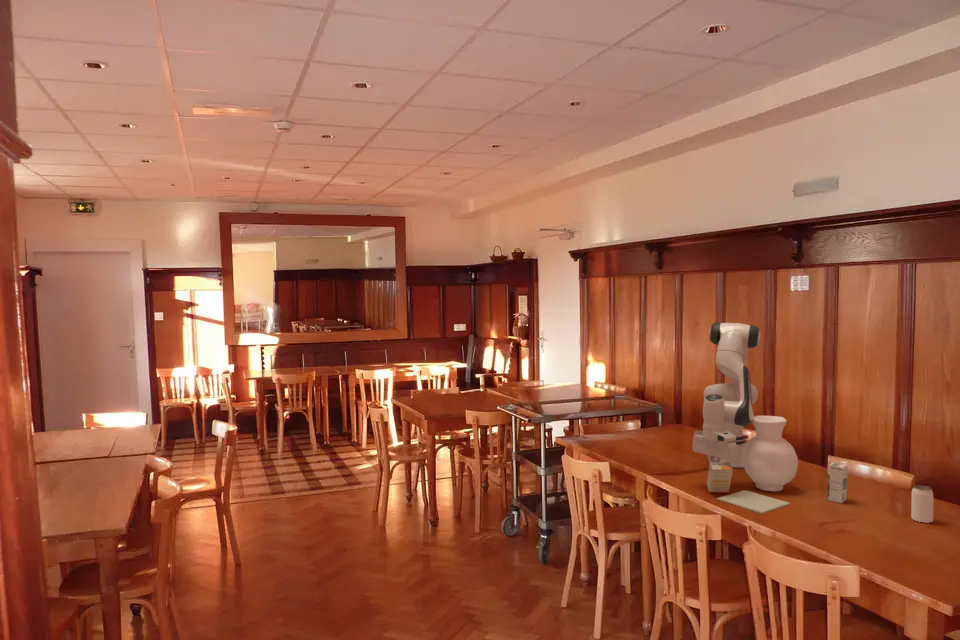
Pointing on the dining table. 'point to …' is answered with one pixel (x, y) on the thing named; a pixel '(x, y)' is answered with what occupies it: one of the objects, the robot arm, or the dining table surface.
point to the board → (753, 501)
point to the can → (922, 504)
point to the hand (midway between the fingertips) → (714, 466)
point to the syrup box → (837, 482)
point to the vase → (769, 455)
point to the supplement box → (719, 477)
